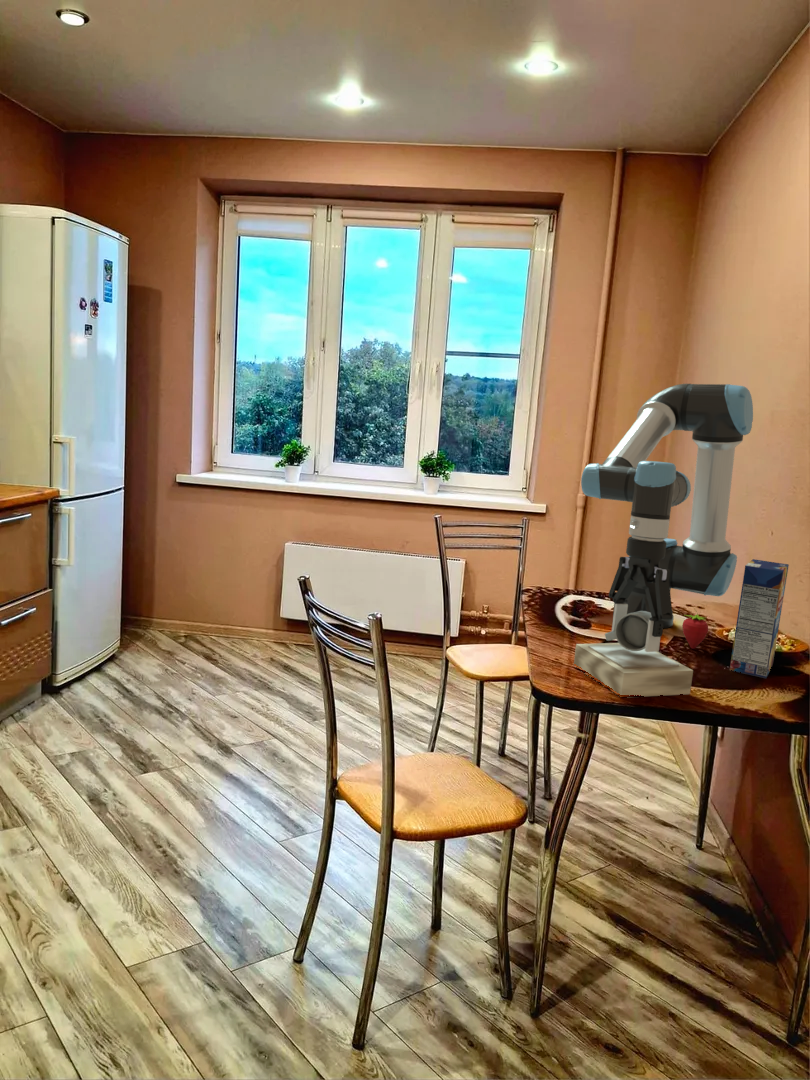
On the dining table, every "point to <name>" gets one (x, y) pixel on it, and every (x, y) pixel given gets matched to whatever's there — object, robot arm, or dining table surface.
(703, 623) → the strawberry
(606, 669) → the cream flat rectangular piece
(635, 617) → the ceramic mug
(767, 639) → the juice carton
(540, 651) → the dining table surface
